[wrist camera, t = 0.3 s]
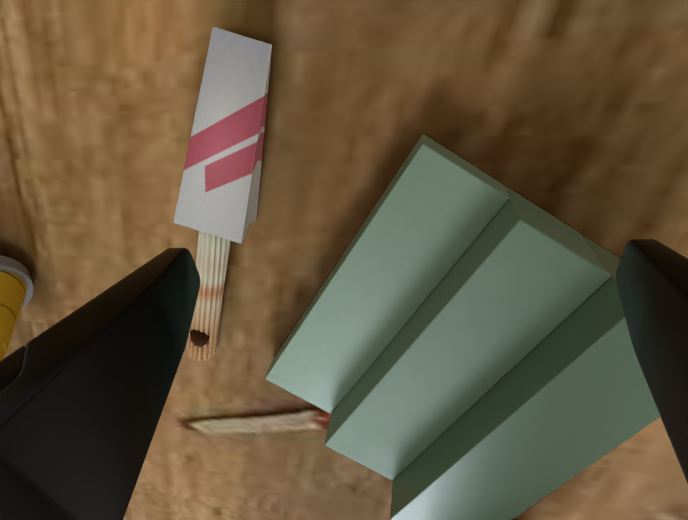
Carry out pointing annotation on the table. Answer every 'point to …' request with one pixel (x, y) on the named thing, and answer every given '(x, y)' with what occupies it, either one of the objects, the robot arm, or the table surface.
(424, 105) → the table surface
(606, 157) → the table surface
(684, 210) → the table surface
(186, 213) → the paintbrush
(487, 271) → the staircase
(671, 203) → the table surface
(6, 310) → the yellow cone with collar
